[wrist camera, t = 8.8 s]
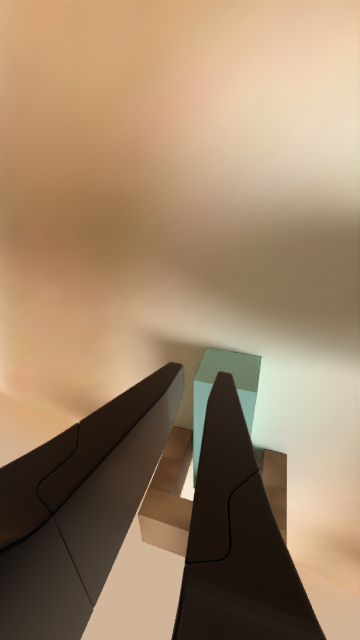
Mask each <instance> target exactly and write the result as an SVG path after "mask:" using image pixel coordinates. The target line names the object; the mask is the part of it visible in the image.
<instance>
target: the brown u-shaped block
mask: <svg viewBox="0 0 360 640" xmlns="http://www.w3.org/2000/svg"><path fill="white" fill-rule="evenodd" d="M191 460H192V431H190V430H186V429H182V428H178V427H173V429H172V432H171V434H170V437H169V439H168V441H167V444H166V446H165V449H164V451H163V454H162V456H161V459H160V461H159V464H158V466H157V468H156V471H155V473H154V476H153V478H152V481H151V483H150V486H149V488H148V490H147V493H146V495H145V498H144V500H143V503H142V505H141V508H140V510H139V513H138V518H139V523H140V530H141V536H142V541H143V542H146V543H148V544H151V545H154V546H156V547H159V548H162V549H164V550H167V551H170V552H173V553H175V554H178V555H181V556H184V557H186V549H187V542H188V535H189V528H190V521H191V514H192V506H193V501H190V500H187V499H184V498H181V497H180V495H181V492H182V489H183V486H184V482H185V479H186V476H187V473H188V469H189V466H190V463H191ZM260 473H261V475H262V479H263V482H264V486H265V489H266V492H267V495H268V499H269V502H270V505H271V508H272V511H273V514H274V516H275V519H276V521H277V524H278V526H279V529H280V532H281V534H282V537H283V539H284V542H285V544H286V546H287V455H286V454H282V453H278V452H274V451H270V450H266V449H265V451H264V456H263V461H262V466H261V470H260Z"/></svg>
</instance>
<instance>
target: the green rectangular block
mask: <svg viewBox="0 0 360 640" xmlns="http://www.w3.org/2000/svg"><path fill="white" fill-rule="evenodd" d="M261 358H262V357H261V356H255V355H249V354H243V353H237V352H230V351H224V350H218V349H212V348H206V351H205V353H204V356H203V358H202V361H201V363H200V365H199V368H198V370H197V373H196V375H195V378H194V380H193V423H194V488H195V485H196V478H197V470H198V463H199V456H200V449H201V442H202V435H203V427H204V420H205V413H206V406H207V400H208V397H209V394H210V391H211V388H212V386H213V383H214V381H215V378H216V375H217V373H218V372H219V371H223V372H229V373H231V374H232V375H233V378H234V382H235V385H236V389H237V392H238V396H239V399H240V403H241V406H242V410H243V413H244V417H245V420H246V424H247V427H248V431H249V434H250V438H251V431H252V424H253V417H254V411H255V404H256V397H257V389H258V382H259V374H260V366H261Z"/></svg>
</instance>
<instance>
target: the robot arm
mask: <svg viewBox="0 0 360 640" xmlns="http://www.w3.org/2000/svg"><path fill="white" fill-rule="evenodd" d="M183 390H184V366H183V364H181V363H175V362H169V363H168V364H166V365H165V366H163V367H162V368H160V369H159V370H157V371H156V372H154V373H153V374H151V375H149V376H148V377H146V378H145V379H143V380H142V381H140V382H139V383H137V384H136V385H134V386H133V387H131V388H130V389H128V390H127V391H125V392H124V393H122V394H120V395H119V396H117V397H116V398H114V399H113V400H111V401H110V402H108V403H107V404H105V405H104V406H102V407H101V408H99V409H98V410H96V411H95V412H93V413H91V414H90V415H88V416H87V417H85V418H84V419H82V420H81V421H80V422H79V423H76V424H74V425H73V426H71V427H70V428H68V429H67V430H65V431H64V432H62V433H61V434H59V435H57V436H56V437H54V438H53V439H51V440H50V441H48V442H46V443H44V444H43V445H41V446H39V447H37V448H36V449H34V450H32V451H30V452H29V453H27V454H25V455H23V456H22V457H20V458H18V459H16V460H14V461H12V462H10V463H9V464H7V465H5V466H3V467H1V468H0V640H80V639H81V637H82V635H83V632H84V630H85V628H86V626H87V623H88V621H89V619H90V617H91V614H92V612H93V607H95V605H96V603H97V600H98V598H99V596H100V593H101V591H102V589H103V587H104V584H105V582H106V580H107V577H108V575H109V573H110V571H111V569H112V566H113V564H114V562H115V559H116V557H117V555H118V553H119V550H120V548H121V546H122V543H123V541H124V539H125V537H126V534H127V532H128V530H129V528H130V525H131V523H132V521H133V518H134V516H135V514H136V512H137V509H138V507H139V504H140V502H141V500H142V498H143V496H144V493H145V491H146V489H147V486H148V484H149V482H150V480H151V478H152V475H153V473H154V471H155V468H156V466H157V464H158V462H159V459H160V457H161V455H162V453H163V450H164V448H165V446H166V443H167V441H168V438H169V436H170V433H171V430H172V427H173V423H174V420H175V417H176V414H177V410H178V407H179V404H180V400H181V397H182V394H183ZM259 471H260V469H259V466H258V462H257V459H256V455H255V452H254V448H253V445H252V441H251V438H250V434H249V431H248V427H247V424H246V420H245V417H244V413H243V410H242V406H241V403H240V399H239V396H238V392H237V389H236V385H235V382H234V378H233V375H232V374H231V373H229V372H223V371H219V372H218V373H217V375H216V378H215V381H214V383H213V386H212V388H211V391H210V394H209V397H208V400H207V406H206V413H205V420H204V427H203V435H202V442H201V449H200V456H199V463H198V470H197V478H196V485H195V492H194V499H193V506H192V514H191V521H190V528H189V535H188V542H187V549H186V557H185V566H184V571H183V578H182V585H181V591H180V597H179V603H178V608H177V614H176V619H175V624H174V629H173V634H172V639H171V640H327V639H326V637H325V635H324V633H323V631H322V629H321V627H320V625H319V622H318V620H317V618H316V615H315V613H314V611H313V609H312V606H311V604H310V601H309V599H308V596H307V594H306V592H305V589H304V587H303V585H302V582H301V580H300V578H299V575H298V573H297V570H296V568H295V565H294V563H293V561H292V558H291V556H290V554H289V551H288V549H287V546H286V544H285V542H284V539H283V537H282V534H281V532H280V529H279V526H278V524H277V521H276V519H275V516H274V514H273V511H272V508H271V505H270V502H269V499H268V495H267V492H266V489H265V486H264V482H263V479H262V475H261V473H260V472H259Z"/></svg>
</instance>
